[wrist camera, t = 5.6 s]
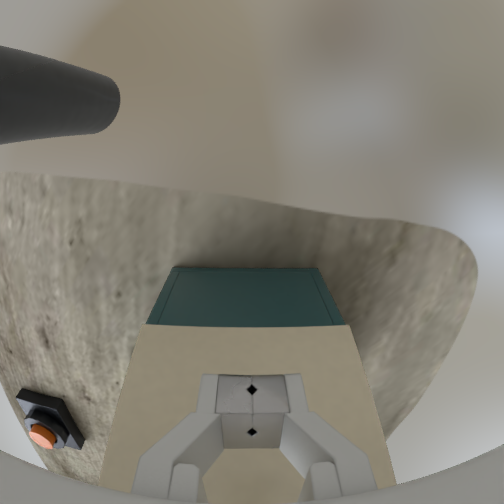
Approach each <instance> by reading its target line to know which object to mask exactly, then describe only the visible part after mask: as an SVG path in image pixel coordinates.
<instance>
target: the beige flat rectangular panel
mask: <svg viewBox="0 0 504 504" xmlns="http://www.w3.org/2000/svg"><path fill="white" fill-rule="evenodd" d="M203 373H204V374H230V375H275V374H283V375H284V374H295V373H300V374H301V375H302V380H303V385H304V389H305V394H306V399H307V403H308V408H309V412H313V411H314V412H315V413H317V414H318V415H319V416H320V417H321V418H322V419H324V420H325V421H326V422H327V423H328V424H330V425H331V426H332V427H333V428H335V429H336V430H337V431H338V432H339V433H341V434H342V435H343V436H344V437H346V438H347V439H348V440H349V441H351V442H352V443H353V444H354V445H356V446H357V447H358V448H359V449H361V450H362V451H363V452H365V453H366V454H367V455H368V458H369V462H370V465H371V468H372V471H373V475H374V478H375V481H376V484H377V488H378V489H382V488H387V487H391V486H394V485H397V484H396V480H395V476H394V472H393V468H392V464H391V461H390V456H389V452H388V448H387V445H386V441H385V437H384V434H383V430H382V427H381V423H380V420H379V416H378V413H377V409H376V406H375V403H374V399H373V396H372V393H371V390H370V386H369V383H368V380H367V377H366V374H365V370H364V367H363V364H362V361H361V358H360V355H359V352H358V349H357V346H356V343H355V340H354V337H353V334H352V331H351V329H350V326H349V325H336V326H310V327H196V326H171V325H151V324H142V326H141V329H140V332H139V335H138V338H137V341H136V344H135V347H134V350H133V354H132V357H131V360H130V363H129V366H128V370H127V373H126V376H125V380H124V383H123V387H122V390H121V394H120V397H119V401H118V404H117V408H116V412H115V415H114V419H113V423H112V427H111V431H110V435H109V439H108V443H107V447H106V451H105V455H104V460H103V464H102V468H101V473H100V478H99V482H98V486H101V487H105V488H109V489H113V490H118V491H122V492H127V493H131V489H132V485H133V481H134V477H135V473H136V469H137V465H138V461H139V457H140V456H141V455H142V454H143V453H145V452H146V451H147V450H148V449H149V448H151V447H152V446H153V445H154V444H155V443H156V442H158V441H159V440H160V439H161V438H162V437H163V436H164V435H166V434H167V433H168V432H169V431H170V430H171V429H172V428H174V427H175V426H176V425H177V424H178V423H179V422H180V421H181V420H183V419H184V418H185V417H186V416H187V415H188V414H189V413H190V412H196V406H197V400H198V393H199V386H200V380H201V376H202V374H203ZM279 449H280V448H247V449H224V451H223V452H222V453H221V455H220V456H219V457H218V458H217V460H216V461H215V462H214V463H213V465H212V466H211V467H210V468H209V470H208V471H207V472H206V473H205V475H204V476H203V477H202V480H203V484H204V488H205V492H206V496H207V500H208V503H212V504H279V503H294V502H297V500H298V498H299V495H300V492H301V490H302V487H303V484H304V481H305V479H304V478H303V477H302V475H301V474H300V473H299V472H298V471H297V470H296V469H295V467H294V466H293V465H292V464H291V463H290V462H289V460H288V459H287V458H286V457H285V456H284V454H283V453H282V452H281V451H280V450H279Z"/></svg>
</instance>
